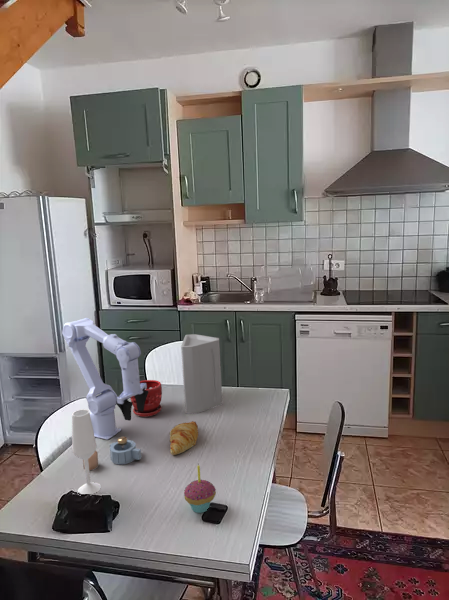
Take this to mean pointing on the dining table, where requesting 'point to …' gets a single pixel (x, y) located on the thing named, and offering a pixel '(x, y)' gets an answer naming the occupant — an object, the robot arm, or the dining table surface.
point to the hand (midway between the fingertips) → (134, 415)
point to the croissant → (183, 437)
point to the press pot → (124, 453)
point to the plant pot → (150, 399)
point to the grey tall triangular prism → (201, 373)
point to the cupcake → (199, 494)
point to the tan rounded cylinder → (92, 461)
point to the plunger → (122, 442)
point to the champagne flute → (84, 446)
